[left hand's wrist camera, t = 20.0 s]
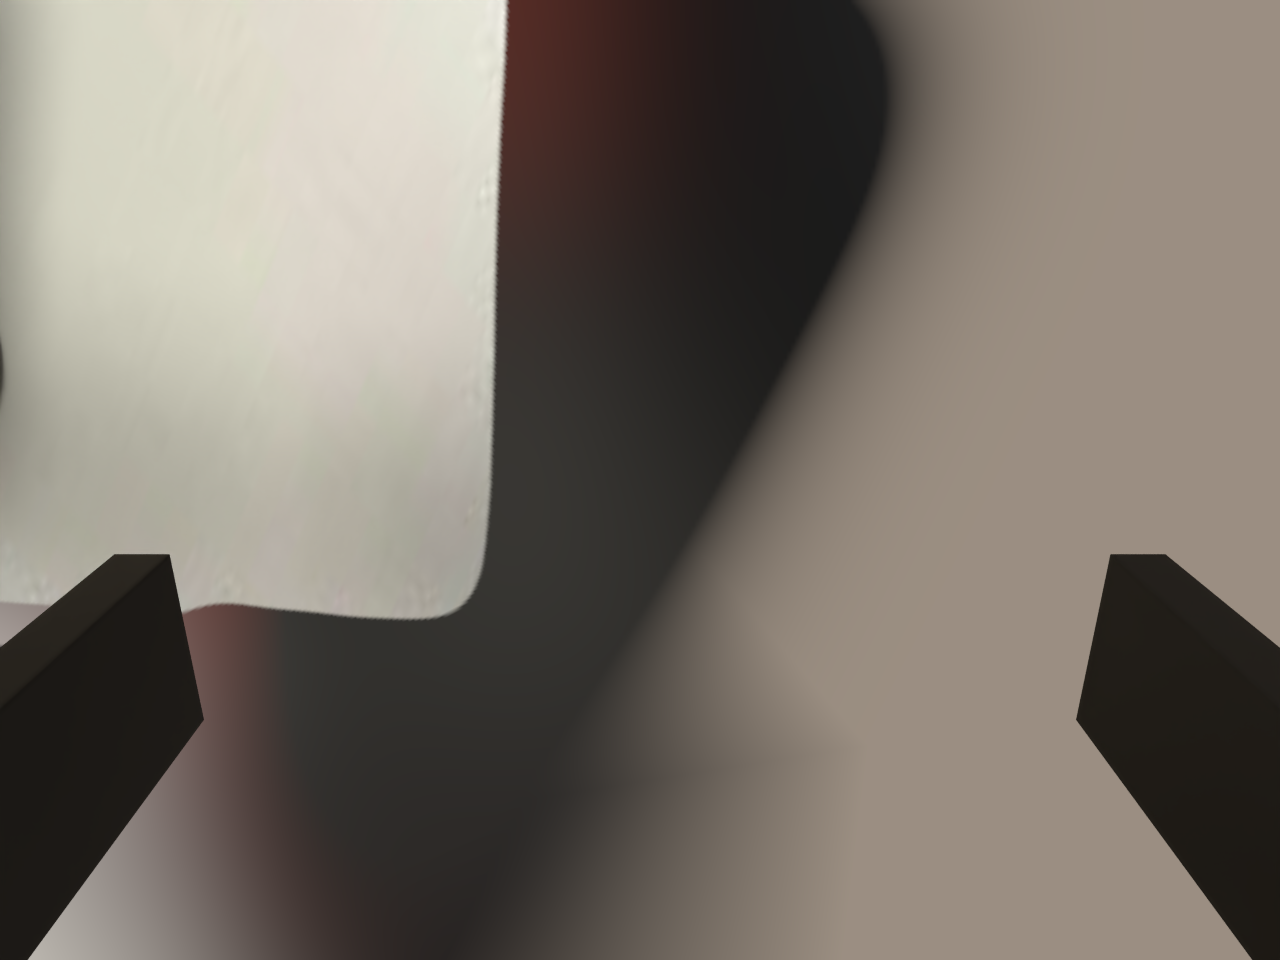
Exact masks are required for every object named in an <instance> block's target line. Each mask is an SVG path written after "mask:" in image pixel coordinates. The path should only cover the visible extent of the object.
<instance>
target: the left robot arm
mask: <svg viewBox="0 0 1280 960" xmlns="http://www.w3.org/2000/svg"><path fill="white" fill-rule="evenodd" d="M203 720H204V718H203V713H202V708H201V704H200V699H199V694H198V689H197V684H196V680H195V675H194V670H193V665H192V660H191V655H190V651H189V646H188V641H187V636H186V631H185V627H184V622H183V617H182V612H181V607H180V603H179V598H178V593H177V588H176V583H175V579H174V574H173V569H172V564H171V559H170V555H169V554H114V555H113V556H112V557H111V558H110V559H108V560H107V561H106V562H105V563H103V564H102V565H101V566H100V567H98V568H97V569H96V570H95V571H94V572H92V573H91V574H90V575H89V576H87V577H86V578H85V579H84V580H83V581H81V582H80V583H79V584H78V585H76V586H75V587H74V588H73V589H72V590H70V591H69V592H68V593H67V594H65V595H64V596H63V597H62V598H61V599H59V600H58V601H57V602H56V603H54V604H53V605H52V606H51V607H49V608H48V609H47V610H46V611H45V612H43V613H42V614H41V615H40V616H38V617H37V618H36V619H35V620H34V621H32V622H31V623H30V624H29V625H27V626H26V627H25V628H24V629H23V630H21V631H20V632H19V633H18V634H16V635H15V636H14V637H13V638H12V639H10V640H9V641H8V642H7V643H5V644H4V645H3V646H2V647H1V648H0V960H28V959H29V957H30V956H31V955H32V953H33V952H34V950H35V949H36V948H37V946H38V945H39V944H40V942H41V941H42V940H43V938H44V937H45V935H46V934H47V933H48V931H49V930H50V929H51V927H52V926H53V925H54V923H55V922H56V920H57V919H58V918H59V916H60V915H61V914H62V912H63V911H64V910H65V908H66V907H67V905H68V904H69V903H70V901H71V900H72V899H73V897H74V896H75V894H76V893H77V892H78V890H79V889H80V888H81V886H82V885H83V884H84V882H85V881H86V880H87V878H88V877H89V875H90V874H91V873H92V871H93V870H94V869H95V867H96V866H97V865H98V863H99V862H100V861H101V859H102V858H103V856H104V855H105V854H106V852H107V851H108V850H109V848H110V847H111V845H112V844H113V843H114V841H115V840H116V839H117V837H118V836H119V835H120V833H121V832H122V831H123V829H124V828H125V826H126V825H127V824H128V822H129V821H130V820H131V818H132V817H133V816H134V814H135V813H136V811H137V810H138V809H139V807H140V806H141V805H142V803H143V802H144V801H145V799H146V798H147V796H148V795H149V794H150V792H151V791H152V790H153V788H154V787H155V786H156V784H157V783H158V781H159V780H160V779H161V777H162V776H163V775H164V773H165V772H166V771H167V769H168V768H169V766H170V765H171V764H172V762H173V761H174V760H175V758H176V757H177V756H178V754H179V753H180V751H181V750H182V749H183V747H184V746H185V745H186V743H187V742H188V741H189V739H190V738H191V737H192V735H193V734H194V732H195V731H196V730H197V728H198V727H199V726H200V724H201V723H202V722H203ZM1076 720H1077V721H1078V723H1079V724H1080V726H1081V727H1082V728H1083V730H1084V731H1085V732H1086V734H1087V735H1088V737H1089V738H1090V739H1091V741H1092V742H1093V743H1094V745H1095V746H1096V747H1097V749H1098V750H1099V752H1100V753H1101V754H1102V756H1103V757H1104V758H1105V760H1106V761H1107V762H1108V764H1109V765H1110V766H1111V768H1112V769H1113V771H1114V772H1115V773H1116V775H1117V776H1118V777H1119V779H1120V780H1121V781H1122V783H1123V784H1124V786H1125V787H1126V788H1127V790H1128V791H1129V792H1130V794H1131V795H1132V796H1133V798H1134V799H1135V800H1136V802H1137V803H1138V805H1139V806H1140V807H1141V809H1142V810H1143V811H1144V813H1145V814H1146V816H1147V817H1148V818H1149V820H1150V821H1151V822H1152V824H1153V825H1154V826H1155V828H1156V829H1157V831H1158V832H1159V833H1160V835H1161V836H1162V837H1163V839H1164V840H1165V841H1166V843H1167V844H1168V846H1169V847H1170V848H1171V850H1172V851H1173V852H1174V854H1175V855H1176V856H1177V858H1178V859H1179V860H1180V862H1181V863H1182V865H1183V866H1184V867H1185V869H1186V870H1187V871H1188V873H1189V874H1190V875H1191V877H1192V878H1193V880H1194V881H1195V882H1196V884H1197V885H1198V886H1199V888H1200V889H1201V890H1202V892H1203V893H1204V895H1205V896H1206V897H1207V899H1208V900H1209V901H1210V903H1211V904H1212V905H1213V907H1214V908H1215V909H1216V911H1217V912H1218V914H1219V915H1220V916H1221V918H1222V919H1223V920H1224V922H1225V923H1226V925H1227V926H1228V927H1229V929H1230V930H1231V931H1232V933H1233V934H1234V935H1235V937H1236V938H1237V940H1238V941H1239V942H1240V944H1241V945H1242V946H1243V948H1244V949H1245V950H1246V952H1247V953H1248V955H1249V956H1250V957H1251V959H1252V960H1280V648H1279V647H1278V646H1277V645H1276V644H1275V643H1273V642H1272V641H1271V640H1270V639H1268V638H1267V637H1266V636H1265V635H1264V634H1262V633H1261V632H1260V631H1259V630H1257V629H1256V628H1255V627H1254V626H1253V625H1251V624H1250V623H1249V622H1248V621H1246V620H1245V619H1244V618H1243V617H1242V616H1240V615H1239V614H1238V613H1237V612H1235V611H1234V610H1233V609H1232V608H1230V607H1229V606H1228V605H1227V604H1226V603H1224V602H1223V601H1222V600H1221V599H1219V598H1218V597H1217V596H1216V595H1214V594H1213V593H1212V592H1211V591H1210V590H1208V589H1207V588H1206V587H1205V586H1204V585H1202V584H1201V583H1200V582H1199V581H1197V580H1196V579H1195V578H1194V577H1193V576H1191V575H1190V574H1189V573H1188V572H1186V571H1185V570H1184V569H1183V568H1181V567H1180V566H1179V565H1178V564H1177V563H1175V562H1174V561H1173V560H1172V559H1170V558H1169V557H1168V556H1167V555H1165V554H1111V555H1110V559H1109V564H1108V569H1107V574H1106V579H1105V584H1104V588H1103V593H1102V598H1101V603H1100V607H1099V612H1098V617H1097V622H1096V627H1095V632H1094V636H1093V641H1092V646H1091V651H1090V656H1089V660H1088V665H1087V670H1086V675H1085V680H1084V684H1083V689H1082V694H1081V699H1080V704H1079V708H1078V713H1077V718H1076Z"/></svg>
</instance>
